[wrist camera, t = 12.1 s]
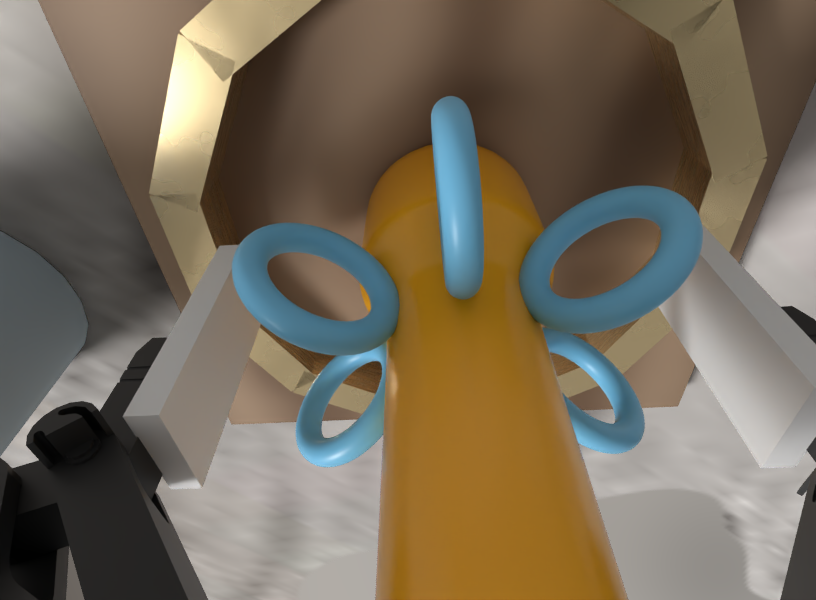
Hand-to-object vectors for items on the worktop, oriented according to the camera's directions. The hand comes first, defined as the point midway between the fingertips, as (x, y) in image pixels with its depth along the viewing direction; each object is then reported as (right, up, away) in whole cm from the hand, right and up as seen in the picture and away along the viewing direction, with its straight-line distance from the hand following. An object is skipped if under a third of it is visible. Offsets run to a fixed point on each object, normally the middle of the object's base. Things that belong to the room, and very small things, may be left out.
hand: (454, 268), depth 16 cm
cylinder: (0, +2, +3) cm, 3 cm away
